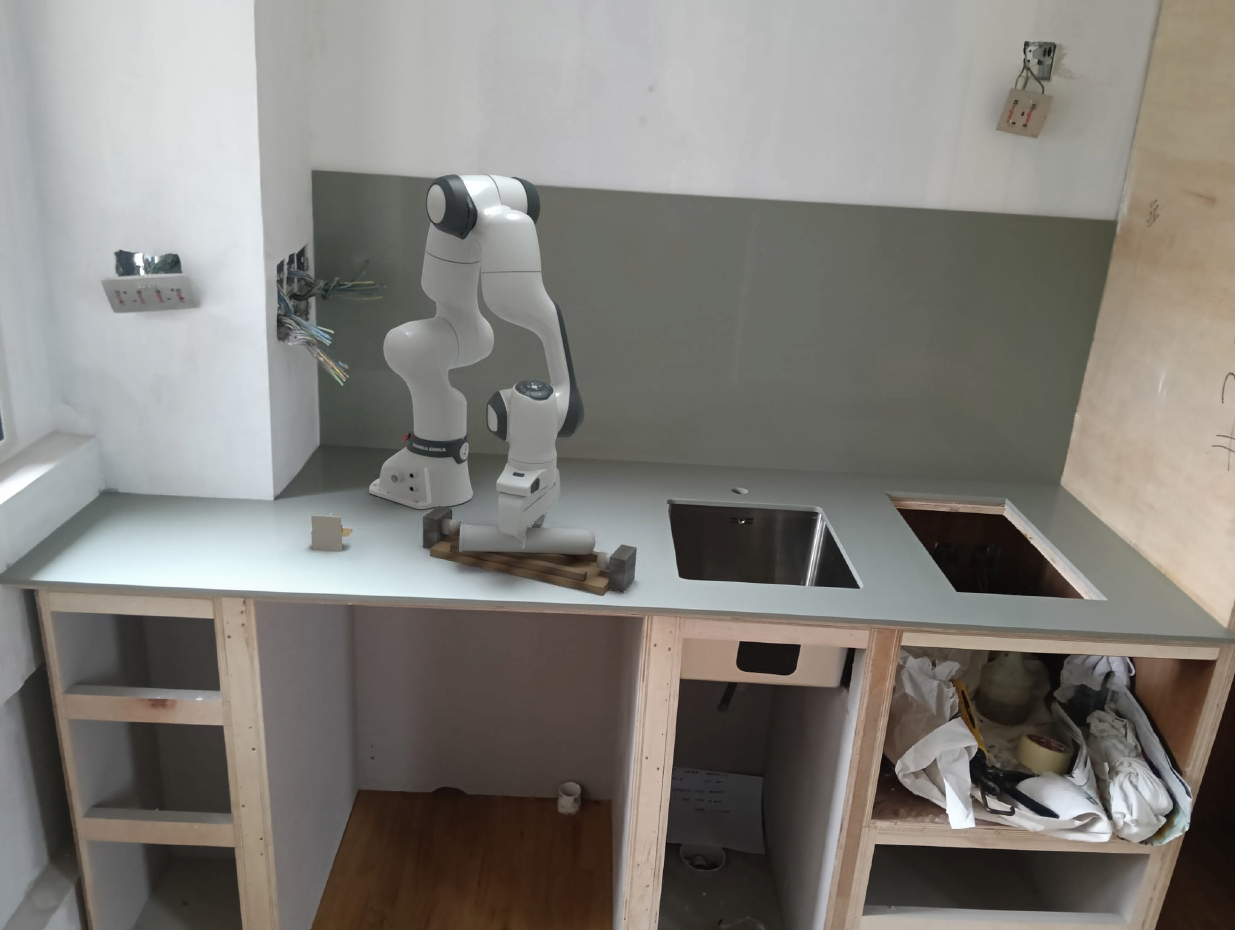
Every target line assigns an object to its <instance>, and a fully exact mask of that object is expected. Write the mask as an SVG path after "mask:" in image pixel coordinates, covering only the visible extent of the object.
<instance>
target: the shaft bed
mask: <svg viewBox="0 0 1235 930" xmlns="http://www.w3.org/2000/svg"><path fill="white" fill-rule="evenodd" d="M461 523H463V522H462V521H460V520H456V519H453V508H452V507H451V508H450V507H448V506H438V507H434V508H433V509H432V510H430V511H428V512H427V513H426V514H424V515H422V549H426V550H429V556H430V557H434V558H438V559H443V560H447V561H452V562H455V563H461V564H465V565H468V566H473V567H477V568H482V569H485V570H486V569H487V570H492V571H494V572H495V571H496V572H501V573H504V574H508V575H513V576H517V577H521V578H524V579H525V578H526V579H530V580H534V581H538V582H539V581H540V582H542V583H548V584H552V585H556V586H561V587H566V588H569V589H573V590H578V591H582V592H587V593H592V594H595V595H600V596H604V594H605V593H607V591H608V590H609V591H613V592H617V593H622V594H624V593H625V592H626V591H627V590H628V588H629V587H630V585H631V584H632V583H633V581H635V579H636V578H635V576H636V574H635V573H636V562H637V550H638V549H637V547H636V546H631V545H628V544H627V545H626V544H620V545H619V546H618V547H617V549H615V550H614V551H613V553H609V552H604V551H596V550H593V552H592V553H590V554H587V555H566V554H539V553H512V552H485V551H463V552H460V551H459V538H460V526H461Z"/></svg>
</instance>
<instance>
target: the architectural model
mask: <svg viewBox="0 0 1235 930" xmlns="http://www.w3.org/2000/svg"><path fill="white" fill-rule="evenodd" d="M332 514H333V512H330V513H329V514H328V515H314V514H312V515H310V518H311V532H310V533H311V550H317V551H331V552H343V538H349V537H350V536H351V534H352V533H353V531H354V529H353V528H349V527H348V528H347V527H343V524H342V517H341V516H335V515H334V516H333V515H332Z"/></svg>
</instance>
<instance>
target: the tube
mask: <svg viewBox="0 0 1235 930" xmlns="http://www.w3.org/2000/svg"><path fill="white" fill-rule="evenodd" d="M525 533H526V538H527V539H526V547H525V548H524V549H522V545H523V542H522V541H521V540H520V539H517V538H516V537H515V536H510V535H505V534H502V533H501V532H500V530H499V528H498V525H483V524H482V525H481V524H480V525H479V524H478V525H477V524H465V523H463V522H462V523H461V526H460V538H459V551H460V552H463V551H485V552H512V553H539V554H566V555H587V554H590V553H592V552H593V551H595V546H596V544H597V543H596V542H597V541H596V538H595V537H596V536H595V533H594V532H593V531H591V530H590V529H585V528H584V529H580V528H556V527H554V528H553V527H543V528H535V527H532V526H531V527H530V526H529V527H528V528H527V531H526V532H525Z"/></svg>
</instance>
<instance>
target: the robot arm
mask: <svg viewBox="0 0 1235 930" xmlns="http://www.w3.org/2000/svg"><path fill="white" fill-rule="evenodd" d="M538 192H539V191H538V190H537V188H536V186H535V185H534V184H533V182H530V181H528V180H526V179H524V178H520V177H517V176H512V177H508V176H504V175H498V174H491V173H490V174H488V173H487V174H486V173H484V174H464V175H458V174H447V175H445V174H444V175H442V176H439V177H436V178H434V179H433V181H432V182H431V184H430V185H429V188H428V190H427V191H426V198H425V207H426V209H425V210H426V214H427V217H428V219H429V221H430V225H429V228H428V233H427V237H426V241H425V242H426V244H425V248H424V249H425V250H424V257H423V266H422V273H421V280H420V283H421V288H422V290H423V292H424V293H425V294H426V296H427V297H428V298H430V299H431V300H433V301H434V302H435V305H436V311H435V315H434V317H430V318H425V319H418V320H411V321H407V322H406V323H402V324H400V325H398V326H396V327H394V328H391V329H390V330H388V332H387V333H386V336H385V338H384V340H383V347H382V349H383V356H384V359H385V361H386V364H387V365H388V366H389V368H390V369H391V370H392V371H393V372H394V373H396V374H397V375H398V376H400V378H402V379H403V380H404V382H405V383H406V386H408V389H409V392H410V395H411V401H412V414H413V430H411V431H409V432H407V434H405V435H404V436H402V438H403V439H402V442H406V441H407V444H406V445H405V447H404V448H402V449H401V450H399V451H398V452H396V453H395V454H394V455H391V456H390V457H389V458H388V459H386V461H384V462H383V464H382V465H381V466H382V467H381V470H380V474H379V477H378V478H377V479H375V480H374V481H373V482H372V483H370V485H369V489H368V493H369V494H371V495H373V496H377V497H380V498H383V499H386V500H389V501H392V502H395V503H398V504H401V505H405V506H407V507H410V508H413V509H416V510H424V509H425V510H426V509H430V508H436V507H438V506H442V507H451V506H457V505H461V504H463V503H466V502H468V501H469V500H472V498H473V496H474V491H473V488H472V485H471V484H472V483H471V481H470V474H469V473H470V472H469V466H468V465H469V464H468V458H469V457H468V456H469V432H468V431H467V420H468V419H467V415H468V414H467V407H468V405H467V404H468V403H467V399H466V397H465V395H464V393H463V392H461V391H460V390H458V389H457V388H455V387H454V386H452V385H451V383H450V380H449V371H450V370H453V369H458V368H462V367H468V366H472V365H474V364H476V363H478V362H479V361H482V360H484V359H486V358H487V357H488V356H490V354H491V353H492V351H493V349H494V345H495V334H494V330H493V328H492V326H491V324H490V323H489V322H488V320H487V319H486V318H485V317H484V316H483V315H482V313H481V311H480V309H479V302H478V284H479V279H480V282H481V283H480V285H481V292H482V297H483V301H484V303H485V304H486V306H487V308H488V309H489V310H490V311H491V313H493V314H494V315H495V316H497V317H498V318H499V319H502V320H503V321H505V322H508V323H511V324H514V325H516V326H519V327H522V328H523V329H527V330H529V331H531V332H533V334H535V335H536V336H537V337H538V338H539V340H541V342H542V345H543V350H544V355H545V359H546V364H547V369H548V374H549V379H550V383H547V382H545V381H542V380H537V379H524V380H521V381H519V382H516V383H515V384H514V385H513V387H512V388H505V389H504V388H503V389H501V390H496V391H495V392H493V394H492V395H491V397H490V398H489V399H488V401H487V402H486V409H485V411H486V412H485V413H486V417H485V418H486V428H487V430H488V431H489V432H490V433H491V434H492V435H493V436H494V437H495V438H497V439H498V440H500V441H502V442H507V443H508V444H509V449H508V453H507V462H506V464H505V466H504V469H503V470H502V472H501V474H500V476H499V477H498V479H497V480H496V484H495V488H496V491H497V492H500V493H499V495H498V499H497V526H498V528H499V530H500V532H501V533H502V534H505V535H510V536H515V537H516V538H517V539H520V540H521V541H522V542H523V545H522V549H524V548H525V547H526V539H527V538H526V533H525V532H526V531H527V528H528V527H530V526H531V527H535V528H544V523H545V522H546V521H545V520H546V517H547V514H548V511H549V510H550V509H551V508H552V507H553V506H555V504H557V503H558V501H559V500H560V495H561V481H560V480H561V477H560V476H561V475H560V471H559V468H558V467H557V459H558V458H557V457H558V453H557V450H556V439H570V438H571V437H573V436H574V434H575V433H576V432H578V430H579V429H580V428H581V426H582V425H583V423H584V421H585V409H584V407H585V406H584V404H583V403H584V402H583V398H582V397H581V393H580V390H579V387H578V383H577V379H576V374H575V368H574V365H573V364H574V363H573V358H572V353H571V348H570V342H569V337H568V333H567V329H566V328H567V327H566V324H565V320H564V316H563V313H562V310H561V308H560V306H559V304H558V303H557V301H555V300H553V299H551V298H550V296H549V295H548V293H547V290H546V288H545V285H544V282H543V275H542V260H541V251H540V245H539V240H538V239H539V238H538V233H537V229H536V224H537V222H538V220H539V218H540V214H541V199H540V194H539V193H538Z"/></svg>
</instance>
